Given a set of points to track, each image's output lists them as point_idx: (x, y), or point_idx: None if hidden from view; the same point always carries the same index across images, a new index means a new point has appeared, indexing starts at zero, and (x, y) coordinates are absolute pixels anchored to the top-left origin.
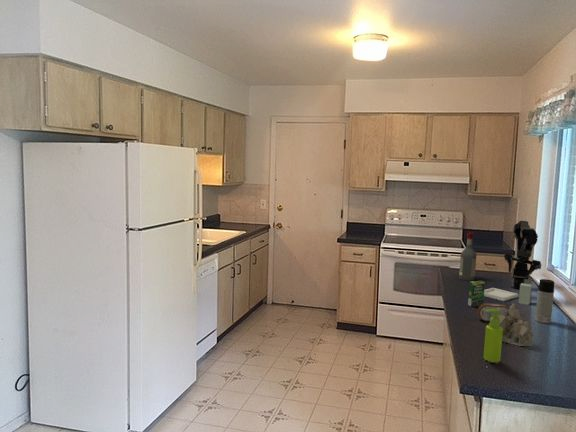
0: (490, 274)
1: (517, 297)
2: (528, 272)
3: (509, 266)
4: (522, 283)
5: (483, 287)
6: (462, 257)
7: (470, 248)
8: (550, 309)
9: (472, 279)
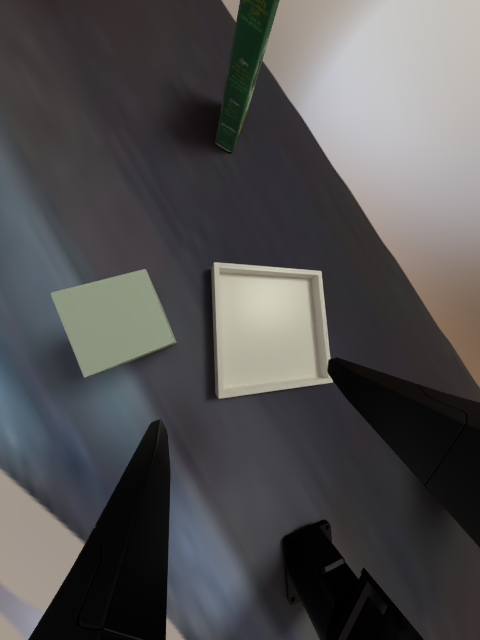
0: (473, 615)
1: (215, 387)
2: (132, 484)
3: (404, 385)
4: (163, 339)
5: (237, 21)
6: None
7: None
8: None
9: None
